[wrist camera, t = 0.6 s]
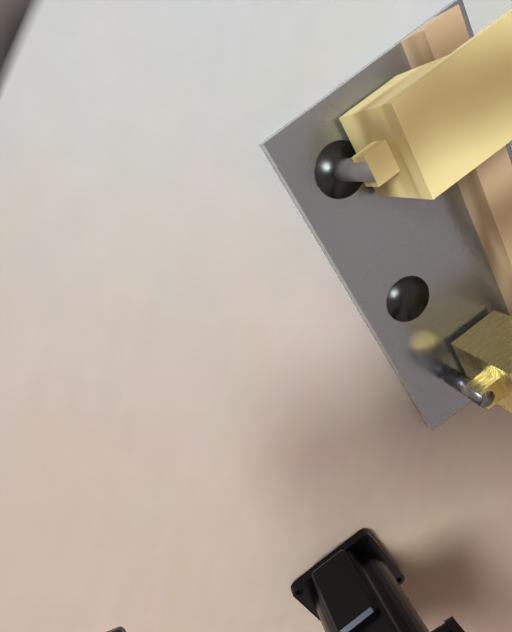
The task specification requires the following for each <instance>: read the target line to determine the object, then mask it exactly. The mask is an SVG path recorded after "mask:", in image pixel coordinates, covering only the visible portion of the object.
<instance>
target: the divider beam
mask: <svg viewBox="0 0 512 632" xmlns="http://www.w3.org/2000/svg"><path fill="white" fill-rule="evenodd" d="M401 44H402V46H403V49H404V51H405V54H406V56H407V59H408V61H409V64H410V66H411V69H412V70H409V71H407V72H404V73H401V74H399V75H396V76H395V77H394V78H392V79H391V80H389V81H388V82H387V83H385V84H384V85H383V86H381V87H380V88H379V89H377V90H376V91H375V92H373V93H372V94H371V95H369V96H368V97H367V98H365V99H364V100H363V101H361V102H360V103H359V104H357V105H356V106H355V107H353V108H352V109H350V110H349V111H348V112H346V113H345V114H344V115H342V116H341V117H340V118H339V120H340V122H341V124H342V126H343V128H344V130H345V132H346V134H347V136H348V138H349V140H350V142H351V144H352V146H353V148H354V150H355V152H356V154H355V155H354V156H353V157H352V158H343V159H340V160H338V161H337V162H336V164H335V165H334V169H333V173H334V176H335V178H336V179H337V180H339V181H343V182H364V183H365V185H366V187H373V188H374V190H375V192H376V194H377V196H389V197H403V198H416V199H429V200H433V199H435V198H436V197H437V196H439V195H440V194H441V193H443V192H444V191H445V190H447V189H448V188H449V187H451V186H452V185H453V184H455V183H456V182H457V184H458V186H459V189H460V191H461V194H462V196H463V199H464V201H465V204H466V206H467V209H468V211H469V214H470V216H471V219H472V221H473V224H474V226H475V229H476V231H477V234H478V236H479V239H480V241H481V244H482V246H483V249H484V251H485V254H486V256H487V259H488V261H489V264H490V266H491V269H492V271H493V274H494V276H495V279H496V281H497V284H498V286H499V289H500V291H501V294H502V296H503V299H504V301H505V304H506V306H507V309H508V311H509V314H510V316H511V317H512V164H511V161H510V158H509V155H508V152H507V149H506V146H505V145H506V144H508V143H509V142H510V141H512V8H511V9H510V10H508V11H507V12H506V13H504V14H503V15H502V16H500V17H499V18H498V19H496V20H495V21H493V22H492V23H491V24H489V25H488V26H487V27H485V28H484V29H483V30H481V31H480V32H479V33H477V34H476V35H475V36H473V37H472V38H471V39H470V37H469V34H468V31H467V28H466V25H465V22H464V19H463V16H462V13H461V10H460V7H459V4H458V5H456V6H454V7H452V8H451V9H449V10H447V11H445V12H443V13H441V14H439V15H438V16H436V17H434V18H432V19H431V20H430V21H428V22H427V23H426V24H424V25H423V26H422V27H420V28H419V29H417V30H416V31H415V32H413V33H412V34H411V35H409V36H408V37H407V38H405V39H404V40H403V41H401Z"/></svg>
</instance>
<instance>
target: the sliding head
mask: <svg viewBox="0 0 512 632" xmlns="http://www.w3.org/2000/svg"><path fill="white" fill-rule="evenodd" d="M451 345H452V347H453V349H454V351H455V353H456V355H457V357H458V359H459V361H460V363H461V365H462V367H463V369H464V371H465V373H466V375H467V376H466V375H464V374H462V373H461V372H459V371H457V370H456V369H449V370H448V371H447V372H446V373H445V374H444V377H443V380H444V382H445V383H446V384H448V385H449V386H451V387H452V388H454V389H455V390H457V391H458V392H460V393H461V394H463V395H464V396H466V397H467V398H469V399H470V400H472V401H473V402H475V403H476V404H478V405H479V406H481V407H483V408H486V409H487V410H489V409H490V408H491V407H493V406H494V405H495V404H497V405H499V406H501V407H502V408H504V409H505V410H507V411H509V412H510V413H512V317H511V316H509V315H506V314H503V313H500V312H498V311H495V310H493V311H492V312H491V313H490V314H488V315H487V316H486V317H484V318H483V319H482V320H480V321H479V322H478V323H477V324H475V325H474V326H473V327H471V328H470V329H469V330H467V331H466V332H465V333H464V334H462V335H461V336H460V337H458V338H457V339H456V340H454V341H453V342H452V343H451Z"/></svg>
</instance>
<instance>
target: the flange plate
mask: <svg viewBox="0 0 512 632" xmlns="http://www.w3.org/2000/svg"><path fill="white" fill-rule="evenodd" d="M458 4H459V7H460V10H461V13H462V16H463V19H464V22H465V25H466V28H467V31H468V34H469V37H470V39H471V38H472V37H473V36H474V35H473V31H472V28H471V25H470V22H469V19H468V16H467V13H466V10H465V7H464V4H463V1H462V0H455V1H453V2H452V3H450V4H449V5H448V6H446V7H445V8H443V9H442V10H441V11H439V12H438V13H437V14H435V15H434V16H433V17H431V18H430V19H429V20H427V21H426V22H425V23H423V24H422V25H421V26H419V27H418V28H416V29H415V30H414V31H412V32H411V33H410V34H408V35H407V36H406V37H404V38H403V39H402V40H400V41H399V42H398V43H396V44H395V45H394V46H392V47H391V48H389V49H388V50H387V51H385V52H384V53H383V54H381V55H380V56H379V57H377V58H376V59H375V60H373V61H372V62H371V63H369V64H368V65H367V66H365V67H364V68H362V69H361V70H360V71H358V72H357V73H356V74H354V75H353V76H352V77H350V78H349V79H348V80H346V81H345V82H344V83H342V84H341V85H340V86H338V87H337V88H336V89H334V90H333V91H331V92H330V93H329V94H327V95H326V96H325V97H323V98H322V99H321V100H319V101H318V102H317V103H315V104H314V105H313V106H311V107H310V108H309V109H307V110H306V111H304V112H303V113H302V114H300V115H299V116H298V117H296V118H295V119H294V120H292V121H291V122H290V123H288V124H287V125H286V126H284V127H283V128H282V129H280V130H279V131H277V132H276V133H275V134H273V135H272V136H271V137H269V138H268V139H267V140H265V141H264V142H263V143H261V144H260V146H261V148H262V149H263V151H264V153H265V154H266V156H267V158H268V160H269V161H270V163H271V165H272V166H273V168H274V170H275V171H276V173H277V175H278V176H279V178H280V180H281V181H282V183H283V185H284V186H285V188H286V190H287V191H288V193H289V195H290V196H291V198H292V200H293V201H294V203H295V205H296V206H297V208H298V210H299V211H300V213H301V215H302V217H303V218H304V220H305V222H306V223H307V225H308V227H309V228H310V230H311V232H312V233H313V235H314V237H315V238H316V240H317V242H318V243H319V245H320V247H321V248H322V250H323V252H324V253H325V255H326V257H327V258H328V260H329V262H330V263H331V265H332V267H333V269H334V270H335V272H336V274H337V275H338V277H339V279H340V280H341V282H342V284H343V285H344V287H345V289H346V290H347V292H348V294H349V295H350V297H351V299H352V300H353V302H354V304H355V305H356V307H357V309H358V310H359V312H360V314H361V315H362V317H363V319H364V320H365V322H366V324H367V326H368V327H369V329H370V331H371V332H372V334H373V336H374V337H375V339H376V341H377V342H378V344H379V346H380V347H381V349H382V351H383V352H384V354H385V356H386V357H387V359H388V361H389V362H390V364H391V366H392V367H393V369H394V371H395V372H396V374H397V376H398V378H399V379H400V381H401V383H402V384H403V386H404V388H405V389H406V391H407V393H408V394H409V396H410V398H411V399H412V401H413V403H414V404H415V406H416V408H417V409H418V411H419V413H420V414H421V416H422V418H423V419H424V421H425V423H426V424H427V426H428V427H430V428H431V429H432V430H434V429H435V428H437V427H438V426H439V425H441V424H442V423H443V422H444V421H446V420H447V419H448V418H450V417H451V416H452V415H454V414H455V413H456V412H457V411H459V410H460V409H461V408H463V407H464V406H465V405H466V404H468V403H469V402H470V401H472V400H470V399H469V398H467V397H466V396H464V395H463V394H461V393H460V392H458V391H457V390H455V389H454V388H452V387H451V386H449V385H448V384H446V383H445V382H444V380H443V377H444V374H445V373H446V372H447V371H448V370H449V369H456V370H457V371H459V372H461V373H462V374H464V375H466V373H465V371H464V369H463V367H462V365H461V363H460V361H459V359H458V357H457V355H456V353H455V351H454V349H453V347H452V345H451V343H452V342H453V341H454V340H456V339H457V338H458V337H460V336H461V335H462V334H464V333H465V332H466V331H467V330H469V329H470V328H471V327H473V326H474V325H475V324H477V323H478V322H479V321H480V320H482V319H483V318H484V317H486V316H487V315H488V314H490V313H491V312H492V311H493V310H495V311H498V312H500V313H503V314H506V315H509V316H510V314H509V311H508V309H507V306H506V304H505V301H504V299H503V296H502V294H501V291H500V289H499V286H498V284H497V281H496V279H495V276H494V274H493V271H492V269H491V266H490V264H489V261H488V259H487V256H486V254H485V251H484V249H483V246H482V244H481V241H480V239H479V236H478V234H477V231H476V229H475V226H474V224H473V221H472V219H471V216H470V214H469V211H468V209H467V206H466V204H465V201H464V199H463V196H462V194H461V191H460V189H459V186H458V184H457V182H456V183H455V184H453V185H452V186H451V187H449V188H448V189H447V190H445V191H444V192H443V193H441V194H440V195H439V196H437V197H436V198H435V199H433V200H429V199H416V198H403V197H389V196H377V194H376V192H375V190H374V188H373V187H366V185H365V183H364V182H343V181H339V180H337V179H336V178H335V176H334V173H333V169H334V165H335V164H336V162H337V161H338V160H340V159H343V158H352V157H353V156H354V155H355V154H356V152H355V150H354V148H353V146H352V144H351V142H350V140H349V138H348V136H347V134H346V132H345V130H344V128H343V126H342V124H341V122H340V120H339V118H340V117H341V116H342V115H344V114H345V113H346V112H348V111H349V110H350V109H352V108H353V107H355V106H356V105H357V104H359V103H360V102H361V101H363V100H364V99H365V98H367V97H368V96H369V95H371V94H372V93H373V92H375V91H376V90H377V89H379V88H380V87H381V86H383V85H384V84H385V83H387V82H388V81H389V80H391V79H392V78H394V77H395V76H396V75H399V74H401V73H404V72H407V71H409V70H412V69H411V66H410V64H409V61H408V59H407V56H406V54H405V51H404V49H403V46H402V44H401V41H403V40H404V39H405V38H407V37H408V36H409V35H411V34H412V33H413V32H415V31H416V30H417V29H419V28H420V27H422V26H423V25H424V24H426V23H427V22H428V21H430V20H431V19H432V18H434V17H436V16H438V15H439V14H441V13H443V12H445V11H447V10H449V9H451V8H452V7H454V6H456V5H458ZM505 146H506V149H507V152H508V155H509V158H510V161H511V164H512V151H511V148H510V145H509V143H508V144H506V145H505ZM466 376H467V375H466Z"/></svg>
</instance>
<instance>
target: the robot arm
mask: <svg viewBox="0 0 512 632" xmlns="http://www.w3.org/2000/svg"><path fill="white" fill-rule="evenodd" d="M404 578H405V577H404V575H403V574H402V572H401V571H400V570H399V568H398V567H397V566H396V565H395V564H394V562H393V561H392V560H391V559H390V558H389V556H388V555H387V554H386V553H385V551H384V550H383V549H382V548H381V547H380V545H379V544H378V543H377V542H376V540H375V539H374V538H373V537H372V536H371V534H370V533H369V532H368V531H367V530H363V531H360V532H359V533H357V534H356V535H355V536H354V537H352V538H351V539H350V540H348V541H347V542H346V543H345V544H343V545H342V546H341V547H339V548H338V549H337V550H336V551H334V552H333V553H332V554H330V555H329V556H328V557H327V558H325V559H324V560H323V561H321V562H320V563H319V564H318V565H316V566H315V567H314V568H312V569H311V570H310V571H309V572H307V573H306V574H305V575H303V576H302V577H301V578H300V579H298V580H297V581H296V582H294V583H293V584H292V586H291V591H292V594H293V596H294V597H295V598H296V599H297V600H298V601H299V602H300V603H301V604H303V605H304V606H305V607H306V608H307V609H308V610H309V611H310V612H311V613H312V614H313V615H315V616H316V617H317V618H318V619H319V620H320V621H321V622H322V625H323V627H324V630H325V632H429V630H428V629H427V627H426V626H425V624H424V623H423V621H422V619H421V618H420V616H419V615H418V613H417V612H416V610H415V608H414V607H413V605H412V604H411V602H410V601H409V599H408V598H407V596H406V594H405V593H404V591H403V590H402V588H401V587H400V584H401V583H402V582H403V581H404ZM444 622H445V623H444V624H442V625H441V626H439V627H438V628H436V629H435V630H433V631H431V632H464V630H463V629H462V628H461V627H460V626H459V624H458V623H457V622H456V621H455V619H454V618H453V617H452V616H451V617H450V618H448V619H447V620H445V621H444ZM107 632H126V630H125V629H124V628H123V627H121V626H120V627H117V628H115V629H112V630H110V631H107Z"/></svg>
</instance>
